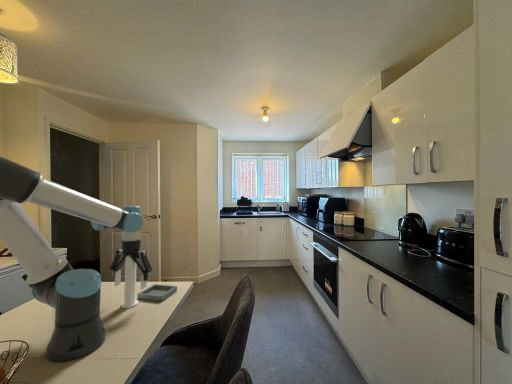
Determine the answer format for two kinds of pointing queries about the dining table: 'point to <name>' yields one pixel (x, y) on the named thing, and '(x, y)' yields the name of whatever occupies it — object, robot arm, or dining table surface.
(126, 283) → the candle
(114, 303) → the dining table surface
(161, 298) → the tray
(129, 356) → the dining table surface
